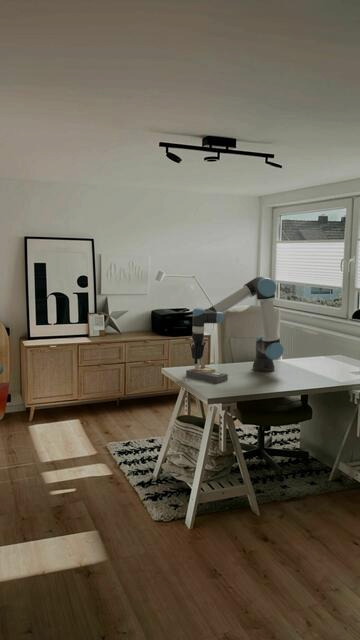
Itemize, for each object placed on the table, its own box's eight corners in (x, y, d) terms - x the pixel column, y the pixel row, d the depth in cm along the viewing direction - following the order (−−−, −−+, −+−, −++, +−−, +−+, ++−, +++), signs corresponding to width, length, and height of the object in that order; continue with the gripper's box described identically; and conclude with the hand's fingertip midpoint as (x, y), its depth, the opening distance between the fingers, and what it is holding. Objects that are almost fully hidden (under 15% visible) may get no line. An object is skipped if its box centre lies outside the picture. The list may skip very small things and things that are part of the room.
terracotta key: (196, 372, 344) (196, 367, 343) (202, 373, 340) (202, 369, 340) (191, 373, 340) (191, 369, 340) (197, 374, 337) (197, 370, 336)
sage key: (215, 376, 333) (216, 372, 333) (222, 378, 330) (222, 373, 330) (211, 378, 330) (211, 373, 329) (217, 379, 326) (217, 374, 326)
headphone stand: (201, 373, 349) (202, 340, 346) (194, 369, 359) (195, 337, 356) (215, 372, 353) (216, 339, 350) (208, 368, 363) (209, 337, 360)
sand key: (206, 372, 338) (206, 367, 338) (212, 373, 335) (212, 369, 335) (201, 373, 335) (201, 369, 334) (207, 375, 331) (207, 370, 331)
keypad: (186, 376, 339) (186, 370, 339) (197, 373, 347) (197, 367, 347) (216, 383, 323) (217, 377, 322) (227, 380, 331) (227, 374, 330)
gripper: (200, 330, 344) (198, 366, 347) (187, 332, 334) (185, 369, 337) (209, 332, 339) (207, 368, 342) (196, 334, 329) (194, 371, 332)
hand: (196, 368), depth 340 cm, fingers closed
